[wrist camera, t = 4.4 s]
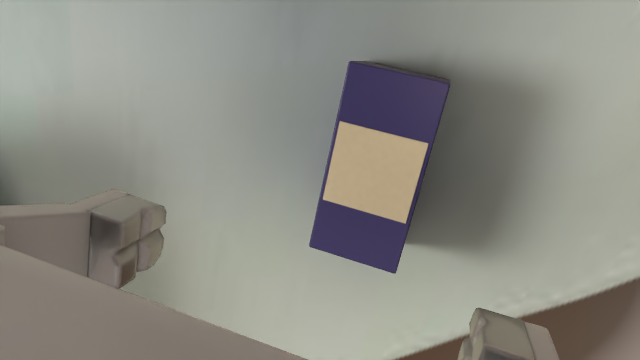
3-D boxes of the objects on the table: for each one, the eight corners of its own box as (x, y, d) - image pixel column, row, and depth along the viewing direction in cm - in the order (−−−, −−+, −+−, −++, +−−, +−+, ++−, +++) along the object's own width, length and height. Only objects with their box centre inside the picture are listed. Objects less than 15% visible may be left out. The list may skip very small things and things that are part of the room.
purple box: (364, 61, 24) (348, 60, 20) (450, 79, 23) (450, 83, 19) (327, 221, 27) (308, 247, 23) (403, 244, 26) (395, 274, 22)
